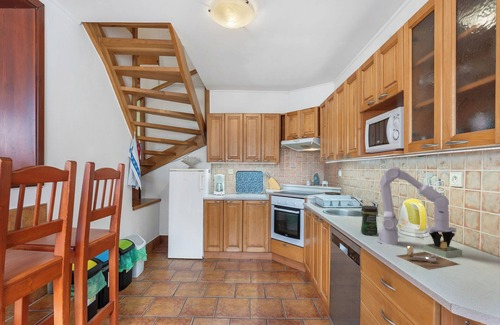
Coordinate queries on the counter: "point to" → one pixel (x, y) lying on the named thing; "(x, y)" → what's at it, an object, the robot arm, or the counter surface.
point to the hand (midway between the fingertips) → (441, 246)
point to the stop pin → (443, 246)
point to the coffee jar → (369, 220)
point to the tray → (450, 251)
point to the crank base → (439, 262)
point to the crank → (424, 258)
